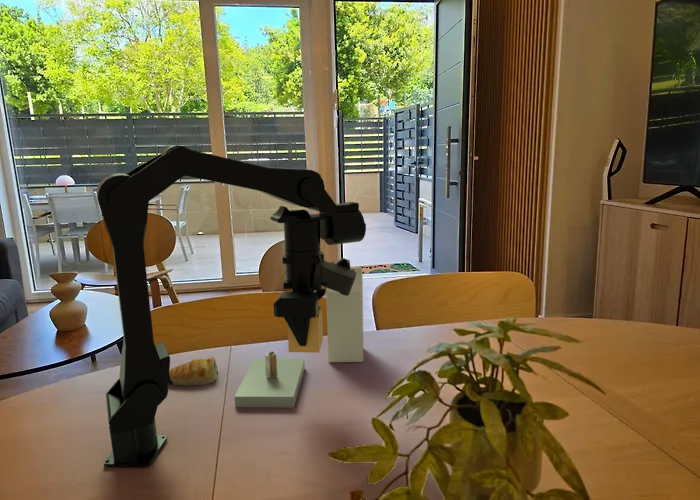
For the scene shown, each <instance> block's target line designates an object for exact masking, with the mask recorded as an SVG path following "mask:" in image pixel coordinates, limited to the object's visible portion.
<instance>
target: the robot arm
mask: <svg viewBox="0 0 700 500" xmlns="http://www.w3.org/2000/svg"><path fill="white" fill-rule="evenodd" d="M183 177H189V178H195V179H201V180H204V181H210V182H214V183H220V184H225V185H228V186H229V185H230V186H234V187H238V188H239V187H240V188H243V189H250V190H254V191H258V192H260V193H262V194H265V195H267V196H270V197H271V198H275V199H277V200H279V201H282V202H284V203H286V204H289V205H293V206H298V207H301V208H303V209H292V210H289V209H288V207H287V206H283V205H280V206H279V207H278V209H277V210H276V211H275V212H274V213H273V214H272V215H271V216H270V221H272V222H275V223H277V224H283V232H284V235H283V236H284V255H283V256H282V264H283V265H285V280H284V281H283V289H284V291H282V293H280V294H279V295H278V297H277V298H276V299H275V301H274V302H273V316H274V317H275V318H283V319H284V320H285V322H286V324H287V326H288V325H289V327H290V329H291V331H292V333H293V335H294V336H295V338H296V340H297V342H298V344H299V346H306V344H307V339H308V332H309V326H310V320H311V318H312V317H316V315H317V313H318V311H319V308H320V307H321V306H320V305H319V303H320V302H319V301H320V300H321V299H322V298H323V297H324V296H325V294H326V289H327V288H329V289H332V290H334V291H337V292H340V294H342V295H345V296H348V295H349V294H350V291H351V289H352V286H353V283H354V281H355V278H356V272H355V271H354V269H352V270H351V268H352V267H351V262H350V261H351V260H350V259H347V258H344V257H340V258H339V259H338V260H337V261H336V262H334V261H332V262H330V261H327V260H325V253H323V250H321V246H322V245H321V240H323V241H324V242H325V243H326V244H327V245H328V246H334V245H342V244H349V243H357V242H358V243H359V242H361V241H363V240H364V238H365V236H366V232H367V224H366V222H365V219H364V215H363V214H362V212H361V210H360V205H359V203H358V202H355V201H347V202H343V203H335V202H334V200H333V198H332V197H331V196H330V195H329V193H328V191H327V190H326V189H325V187H326V186H325V182H324V179H323V178H322V176H321V174H320V173H319V172H318V171H316V170H313V169H303V168H290V167H287V168H285V167H267V166H261V165H258V164H254V163H250V162H246V161H245V162H244V161H242V160H241V161H240V160H235V159H231V158H228V157H223V156H218V155H214V154H210V153H206V152H201V151H198V150H197V151H196V150H193V149H191V148H189V147H187V146H184V145H171V146H168V147H166V148H165V149H163V151H162V152H161V153H159V154H158V155H156V156H155V157H153V158H150V159H148V160H147V161H145V162H143V163H142V164H139V166H137V167H135V168H133V169H131V170H130V171H128V172H127V173H121V172H120V173H119V172H117V173H112V174H109V175H107V176H105V177H104V178H103V179H102V180H101V181H100V182H99V183H98V184H97V187H96V199H97V203H98V205H99V209H100V212H101V215H102V218H103V221H104V224H105V228H106V230H107V233H108V236H109V239H110V242H111V246H112V252H113V253H112V254H113V263H114V270H115V277H116V278H115V279H116V285H117V286H116V287H117V294H118V295H117V296H118V302H119V303H118V304H119V311H120V312H119V313H120V319H121V320H120V321H121V327H122V335H123V343H122V349H121V356H120V365H119V378H118V379H117V380H116V381H115V382H114V384H113V385H112V386H111V387H110V389H109V390H107V392H106V393H105V398H106V411H107V420H108V429H109V435H110V442H111V443H110V444H111V450H112V451H111V452H110V454H109V455H107V457H106V459H104V461H103V466H104V467H119V468H120V467H122V468H123V467H124V468H125V467H126V468H129V467H132V468H134V467H135V468H136V467H137V468H146V467H149V466H150V465H151V464H152V462H153V461H154V459H155V458H156V456H157V455H158V454H159V452H160V450H162V447H164V445H165V443H166V442H167V440H168V436H167V435H158V433H157V424H156V417H155V416H156V413H157V410H158V407H159V406H160V405H161V404H162V403H163V401H165V400H166V399H167V398H168V395H169V385H171V386H174V385H173V381H172V378H171V376H170V373H169V371H170V370H171V368H170V367H171V366H170V365H171V357H170V354H169V352H168V349H167V347H166V345H165V343H164V342H159V343H158V344H157V343H155V341H154V332H153V331H154V330H153V321H152V313H151V304H150V294H149V286H148V285H149V284H148V276H147V266H146V258H145V257H146V256H145V248H144V243H145V236H146V231H147V226H148V225H147V224H148V215H149V214H148V213H149V203H150V201H151V200H153V199H154V198H156V197H157V196H159V195H160V194H161V193H163V192H164V191H166V190H167V189H168V188H169V187H171V186H172V185H174V184H175V183H176V182H177V181H178V180H180V179H182V178H183ZM304 208H305V209H304ZM306 209H309V210H313V211H316V212H318V213H313V214H310V213H309V211H308V210H306ZM322 286H323V288H322ZM325 288H326V289H325Z"/></svg>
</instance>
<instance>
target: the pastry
mask: <svg viewBox="0 0 700 500" xmlns="http://www.w3.org/2000/svg"><path fill="white" fill-rule="evenodd" d="M218 371H219V368H218V365H217V362H216V359H215V357H213V356H211V357H210V358H195V359H192V360H190V361H187V362H185V363H181V364H179V365H178V366H175V367H172V368H170V369H169V373H170V376H171V378H172V381H173V385H172V386H185V387H190V386H199V385H201V386H202V385H207V384H213V383H215V382H216V381H217V378H218V377H217V376H218V375H217V372H218Z"/></svg>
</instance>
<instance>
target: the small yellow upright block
mask: <svg viewBox="0 0 700 500" xmlns="http://www.w3.org/2000/svg"><path fill="white" fill-rule="evenodd" d="M323 331H324V330H323V307H321V306H320V308H319V311H318V313H317V315H316V317H312V318H311V320H310V326H309V332H308V339H307V344H306V346H299V344H298V342H297V340H296V338H295V336H294V335H293V333H292V331H291V329H290V327H289V325H288V324H287V340H288V343H287V344H288V346H287V347H288V353H307V354H308V353H309V354H310V353H312V354H313V353H316V354H319V353H320V350H321V347H322V345H323V340H324V339H323V338H324V337H323V336H324V335H323Z"/></svg>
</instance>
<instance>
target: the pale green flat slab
mask: <svg viewBox="0 0 700 500" xmlns="http://www.w3.org/2000/svg"><path fill="white" fill-rule="evenodd" d="M305 364H306V363H305V358H286V359H285V358H277V354H276V353H275V352H274V351H269V353H266V354H265V355H264V358H254V359H253V361H252V363H251V364H250V367H249V368H248V370H247V372H246V374H245V376H243V377H244V378H243V380H242V382H241V383H240V385H239V387H238V389H237V391H236V392H235V394H234V407H235V408H295V405H296V401H297V398H298V394H299V390H300V388H301V385H302V380H303V377H304V373H305V368H306V365H305Z"/></svg>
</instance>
